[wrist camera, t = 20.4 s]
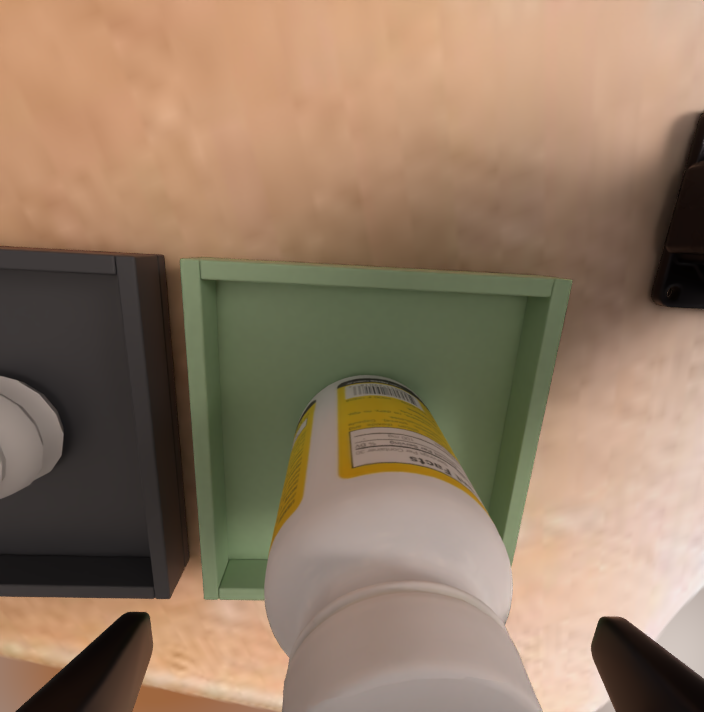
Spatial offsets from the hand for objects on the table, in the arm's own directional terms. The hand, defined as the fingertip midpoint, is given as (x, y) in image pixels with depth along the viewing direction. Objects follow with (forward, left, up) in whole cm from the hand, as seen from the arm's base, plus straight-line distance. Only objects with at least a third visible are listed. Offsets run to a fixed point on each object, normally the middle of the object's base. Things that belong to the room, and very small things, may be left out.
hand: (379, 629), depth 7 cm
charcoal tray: (+13, 0, -8) cm, 16 cm away
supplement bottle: (0, 0, -8) cm, 8 cm away
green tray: (0, 0, -8) cm, 8 cm away
